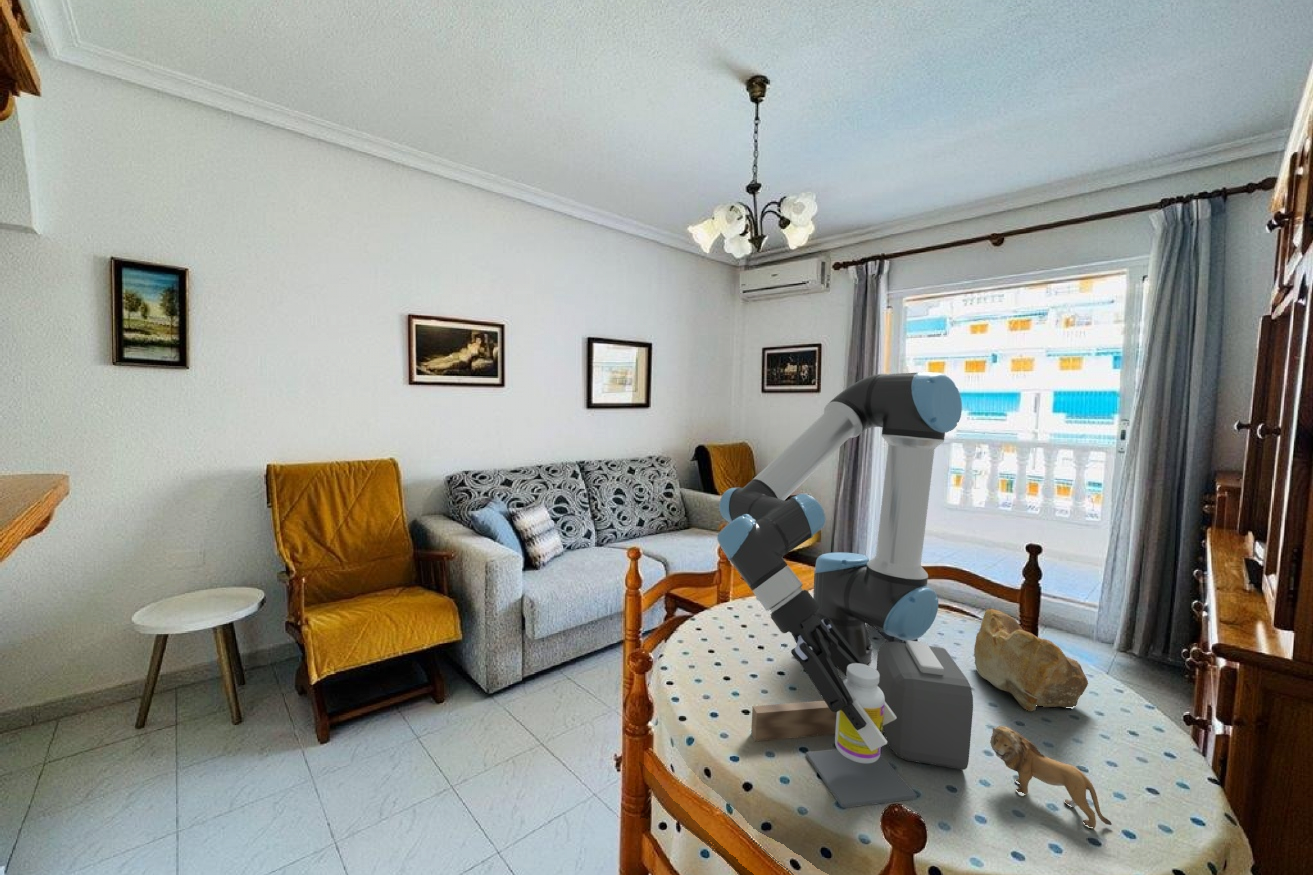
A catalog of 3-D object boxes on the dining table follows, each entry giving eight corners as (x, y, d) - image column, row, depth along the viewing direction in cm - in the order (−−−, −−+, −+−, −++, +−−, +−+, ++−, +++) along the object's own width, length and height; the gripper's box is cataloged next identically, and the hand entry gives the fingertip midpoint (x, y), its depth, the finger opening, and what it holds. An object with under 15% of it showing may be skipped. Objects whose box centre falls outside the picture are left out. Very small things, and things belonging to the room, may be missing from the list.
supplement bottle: (884, 769, 76) (891, 685, 75) (837, 761, 77) (843, 678, 76) (875, 740, 83) (881, 662, 82) (831, 733, 84) (837, 657, 83)
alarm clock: (967, 778, 81) (975, 682, 80) (889, 765, 83) (896, 671, 82) (934, 716, 97) (940, 636, 96) (870, 707, 99) (875, 628, 98)
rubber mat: (872, 748, 87) (872, 745, 87) (916, 798, 76) (916, 794, 76) (806, 755, 85) (806, 751, 85) (842, 807, 74) (842, 803, 74)
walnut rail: (856, 724, 94) (857, 697, 93) (862, 731, 92) (864, 704, 91) (751, 733, 90) (752, 706, 89) (755, 741, 88) (756, 713, 88)
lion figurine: (985, 787, 79) (990, 730, 79) (989, 768, 83) (993, 714, 83) (1112, 839, 70) (1119, 776, 70) (1109, 815, 74) (1115, 756, 74)
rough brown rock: (1117, 743, 92) (1132, 662, 92) (1015, 721, 95) (1028, 642, 94) (1044, 679, 115) (1055, 613, 114) (963, 663, 118) (974, 599, 117)
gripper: (790, 595, 95) (878, 713, 87) (745, 631, 79) (848, 780, 71) (821, 573, 92) (915, 693, 84) (781, 606, 76) (892, 759, 68)
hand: (884, 733), depth 78 cm, fingers closed on supplement bottle, 7 cm apart
